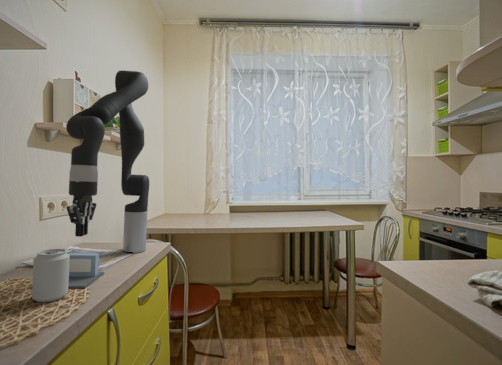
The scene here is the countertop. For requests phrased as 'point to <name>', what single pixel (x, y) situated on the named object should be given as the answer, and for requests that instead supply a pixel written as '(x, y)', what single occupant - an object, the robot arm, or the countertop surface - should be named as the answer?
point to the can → (50, 275)
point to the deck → (83, 264)
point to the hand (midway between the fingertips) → (81, 235)
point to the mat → (82, 281)
